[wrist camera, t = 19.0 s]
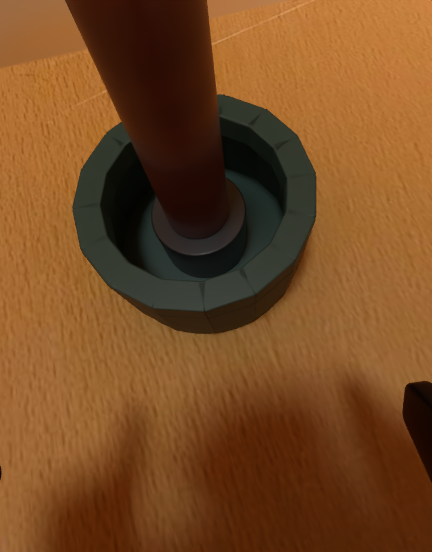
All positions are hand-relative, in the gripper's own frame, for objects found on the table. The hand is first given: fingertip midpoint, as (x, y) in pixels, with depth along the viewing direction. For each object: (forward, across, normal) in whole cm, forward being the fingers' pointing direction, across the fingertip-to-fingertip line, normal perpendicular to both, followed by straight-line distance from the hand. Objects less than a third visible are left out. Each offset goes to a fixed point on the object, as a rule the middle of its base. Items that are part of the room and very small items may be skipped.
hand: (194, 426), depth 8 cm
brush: (+11, 0, 0) cm, 11 cm away
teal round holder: (+12, 0, 0) cm, 12 cm away
